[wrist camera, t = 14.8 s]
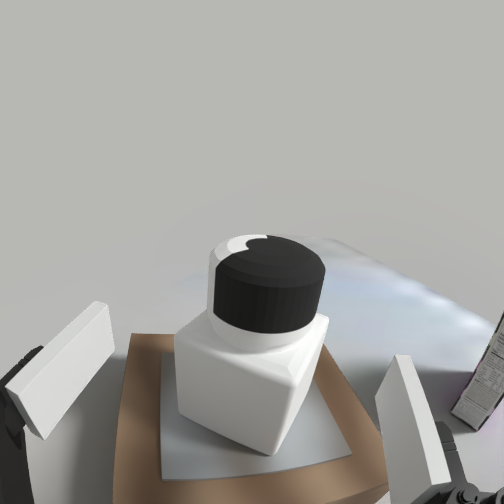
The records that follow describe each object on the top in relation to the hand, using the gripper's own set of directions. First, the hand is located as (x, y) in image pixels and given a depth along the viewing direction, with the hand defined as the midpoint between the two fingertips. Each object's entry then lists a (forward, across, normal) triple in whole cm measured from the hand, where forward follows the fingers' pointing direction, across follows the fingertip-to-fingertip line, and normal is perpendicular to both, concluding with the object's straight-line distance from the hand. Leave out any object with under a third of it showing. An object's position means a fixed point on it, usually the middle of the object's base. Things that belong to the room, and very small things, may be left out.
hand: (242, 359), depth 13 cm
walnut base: (+5, 0, -14) cm, 14 cm away
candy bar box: (+12, +27, -14) cm, 33 cm away
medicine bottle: (+5, 0, -9) cm, 10 cm away
